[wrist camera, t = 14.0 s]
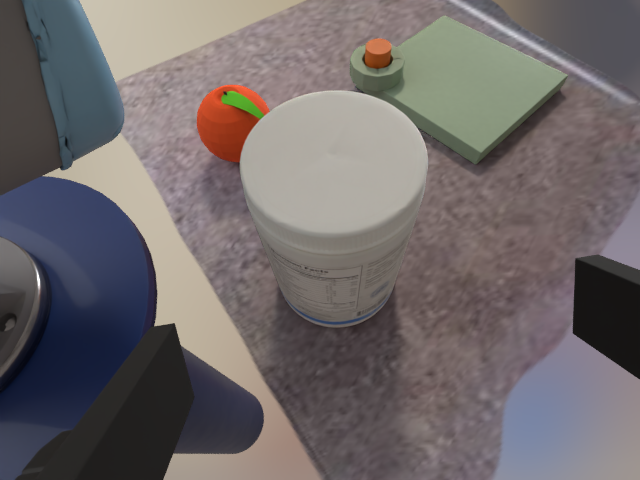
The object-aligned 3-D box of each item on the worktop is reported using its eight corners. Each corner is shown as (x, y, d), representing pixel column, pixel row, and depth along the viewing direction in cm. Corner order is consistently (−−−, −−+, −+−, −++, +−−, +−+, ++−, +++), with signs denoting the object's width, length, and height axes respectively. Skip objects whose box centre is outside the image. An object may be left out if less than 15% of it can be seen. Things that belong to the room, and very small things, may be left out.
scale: (340, 87, 42) (339, 59, 39) (432, 24, 47) (439, -5, 44) (467, 172, 36) (479, 146, 33) (560, 88, 41) (578, 59, 38)
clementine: (299, 142, 39) (291, 83, 32) (261, 191, 36) (244, 136, 30) (236, 117, 41) (217, 57, 35) (195, 161, 38) (167, 104, 32)
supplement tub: (296, 216, 34) (269, 74, 21) (402, 235, 33) (441, 95, 20) (263, 318, 30) (204, 215, 17) (384, 345, 28) (420, 255, 15)
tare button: (359, 62, 40) (360, 46, 38) (376, 50, 40) (377, 35, 39) (377, 73, 39) (379, 57, 37) (395, 61, 39) (397, 45, 38)
